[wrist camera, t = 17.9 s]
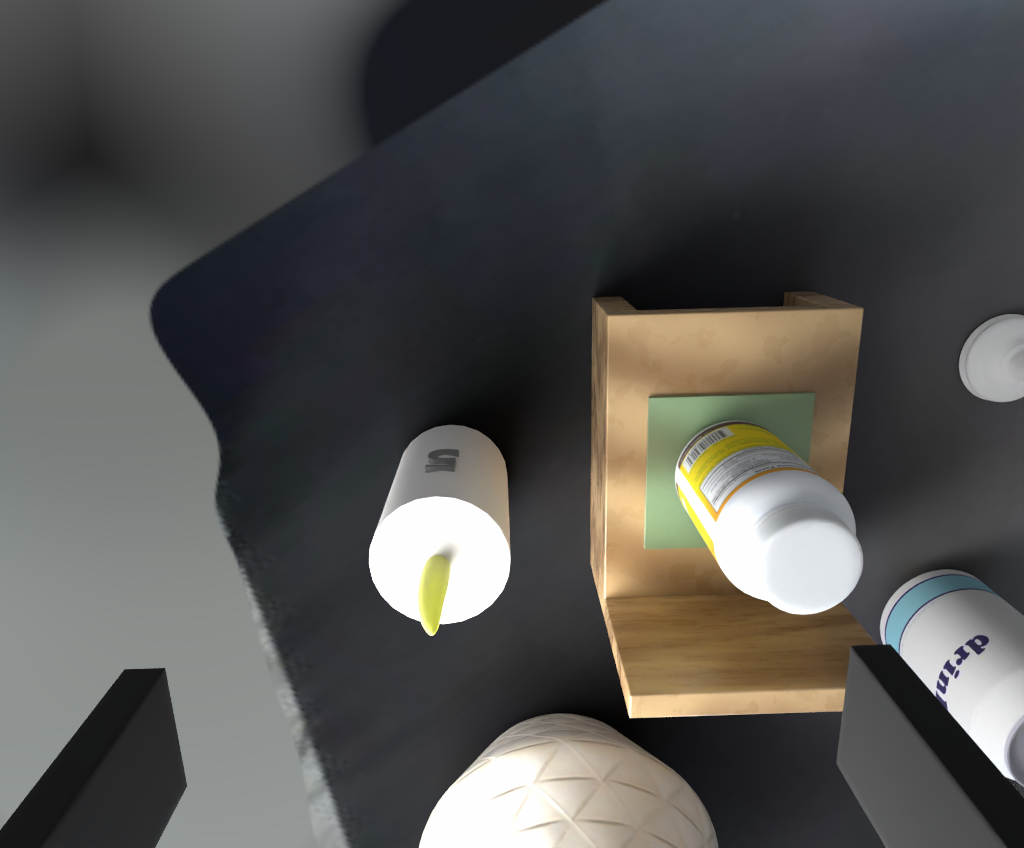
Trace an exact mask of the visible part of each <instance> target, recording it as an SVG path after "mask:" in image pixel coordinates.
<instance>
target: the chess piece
mask: <svg viewBox="0 0 1024 848" xmlns="http://www.w3.org/2000/svg"><path fill="white" fill-rule="evenodd" d="M959 372H960V376H961V379H962V382H963V384H964V385H965V387H966V388H967V389H968V390H969V391H970V392H971V393H972V394H974V395H975V396H977V397H979V398H982V399H985V400H990V401H995V402H1009V401H1014V400H1017V399H1020V398H1022V397H1024V316H1023V315H1018V314H1006V315H1001V316H997V317H994V318H992V319H990V320H988V321H986V322H985V323H983V324H982V325H980V326H979V327H978V328H977V329H976V330H975V331H974V332H973V333H972V334H971V335H970V336H969V338H968V339H967V341H966V342H965V344H964V346H963V349H962V351H961V355H960V359H959Z"/></svg>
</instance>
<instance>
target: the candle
mask: <svg viewBox="0 0 1024 848" xmlns="http://www.w3.org/2000/svg"><path fill="white" fill-rule="evenodd" d="M369 566H370V570H371V574H372V579H373V582H374V583H375V585H376V587H377V589H378V590H379V592H380V594H381V596H382V597H383V598H384V599H385V600H386V601H387V602H388V603H389V604H390V605H391V606H392V607H393V608H395V609H396V610H398V611H400V612H401V613H403V614H405V615H406V616H408V617H410V618H413V619H416V620H420V621H421V623H422V625H423V628H424V629H425V631H426V632H427V633H428V634H429V635H431V636H432V635H434V634H435V633H436V631H437V629H438V627H439V624H447V623H453V622H460V621H463V620H466V619H468V618H471V617H473V616H475V615H478V614H479V613H481V612H482V611H483V610H485V609H486V608H487V607H489V606H490V605H491V604H492V603H493V602H494V601H495V600H496V598H497V597H498V596H499V595H500V593H501V592H502V590H503V588H504V586H505V583H506V581H507V579H508V576H509V568H510V533H509V506H508V478H507V470H506V464H505V460H504V458H503V456H502V454H501V452H500V450H499V449H498V447H497V446H496V445H495V444H494V443H493V442H492V441H491V439H489V438H488V437H487V436H485V435H484V434H482V433H481V432H479V431H477V430H474V429H472V428H469V427H466V426H459V425H445V426H439V427H434V428H432V429H430V430H428V431H425V432H423V433H422V434H420V435H419V436H418V437H417V438H415V439H414V440H413V441H412V442H411V443H410V445H409V446H408V447H407V449H406V450H405V452H404V453H403V456H402V459H401V462H400V464H399V467H398V470H397V473H396V476H395V478H394V481H393V484H392V487H391V490H390V493H389V495H388V498H387V501H386V504H385V507H384V510H383V512H382V515H381V518H380V521H379V524H378V526H377V529H376V532H375V535H374V538H373V541H372V543H371V546H370V556H369Z"/></svg>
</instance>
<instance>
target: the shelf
mask: <svg viewBox="0 0 1024 848" xmlns="http://www.w3.org/2000/svg"><path fill="white" fill-rule="evenodd" d="M863 311H864V309H863V308H862V307H858V306H855V305H852V304H850V303H847V302H844V301H840V300H837V299H834V298H831V297H828V296H825V295H822V294H819V293H816V292H813V291H809V292H785V293H784V304H783V306H777V307H741V308H705V309H669V310H636V309H635V308H634V307H633V306H632V305H630V304H629V303H628V302H627V301H626V300H625V299H623V298H622V297H593V298H592V418H591V567H592V571H593V575H594V579H595V583H596V587H597V591H598V595H599V599H600V603H601V607H602V611H603V615H604V619H605V623H606V627H607V631H608V635H609V639H610V643H611V647H612V650H613V654H614V658H615V662H616V666H617V670H618V674H619V678H620V682H621V686H622V690H623V694H624V698H625V702H626V706H627V710H628V714H629V717H630V718H651V717H681V716H710V715H740V714H769V713H799V712H828V711H843V705H844V697H845V689H846V681H847V673H848V665H849V657H850V649H851V646H855V645H877V644H876V643H875V642H874V640H873V639H872V638H871V637H870V636H869V634H868V633H867V632H866V631H865V630H864V628H863V627H862V626H861V625H860V624H859V622H858V621H857V620H856V619H855V618H854V616H853V615H852V614H851V613H850V612H849V610H848V609H847V608H846V607H845V606H844V604H843V603H842V602H840V603H838V604H837V605H835V606H833V607H832V608H830V609H827V610H825V611H822V612H818V613H813V614H793V613H789V612H786V611H783V610H781V609H779V608H777V607H775V606H774V605H772V604H771V603H770V602H769V601H766V600H762V599H758V598H756V597H753V596H751V595H749V594H747V593H745V592H743V591H742V590H740V589H739V588H738V587H736V586H735V585H734V584H733V583H732V582H731V581H730V580H729V579H728V577H727V576H726V575H725V573H724V572H723V570H722V569H721V567H720V566H719V564H718V562H717V561H716V559H715V558H714V556H713V554H712V553H711V551H710V549H709V548H708V546H707V544H706V542H705V541H704V539H703V537H702V536H701V534H700V533H699V531H698V529H697V527H696V526H695V524H694V522H693V521H692V519H691V517H690V516H689V514H688V513H687V511H686V509H685V508H684V506H683V504H682V502H681V501H680V498H679V496H678V494H677V490H676V485H675V471H676V466H677V462H678V459H679V457H680V454H681V453H682V451H683V449H684V448H685V446H686V445H687V443H688V442H689V441H690V440H691V439H692V438H693V437H694V436H695V435H696V434H698V433H699V432H700V431H702V430H703V429H705V428H707V427H709V426H711V425H714V424H716V423H720V422H724V421H733V420H739V421H747V422H751V423H755V424H757V425H760V426H762V427H764V428H765V429H767V430H768V431H770V432H771V433H773V434H774V435H775V436H776V437H777V438H778V439H780V440H781V441H782V442H783V443H784V444H785V445H787V446H788V447H789V448H790V449H791V450H793V451H794V452H795V453H796V454H797V455H798V456H800V457H801V458H802V459H803V460H804V461H805V462H807V463H808V464H809V465H810V466H811V467H812V468H814V469H815V470H816V471H817V472H818V473H819V474H821V475H822V476H823V477H824V478H825V479H826V480H828V481H829V482H830V483H831V484H832V485H833V486H835V487H836V488H837V489H838V490H839V491H840V493H841V494H842V495H843V488H844V479H845V470H846V461H847V452H848V444H849V435H850V426H851V417H852V408H853V399H854V391H855V382H856V373H857V364H858V355H859V346H860V338H861V329H862V320H863Z"/></svg>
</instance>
